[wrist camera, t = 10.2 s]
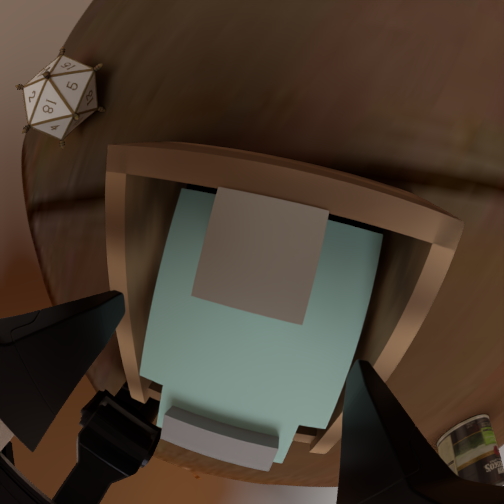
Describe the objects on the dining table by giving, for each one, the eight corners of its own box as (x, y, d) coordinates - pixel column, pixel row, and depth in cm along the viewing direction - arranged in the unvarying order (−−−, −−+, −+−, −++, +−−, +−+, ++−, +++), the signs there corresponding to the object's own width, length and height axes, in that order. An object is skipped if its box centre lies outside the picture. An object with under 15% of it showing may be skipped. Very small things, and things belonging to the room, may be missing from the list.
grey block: (296, 306, 17) (302, 325, 11) (222, 287, 17) (190, 295, 11) (314, 231, 17) (329, 210, 11) (240, 214, 17) (218, 186, 11)
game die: (116, 116, 23) (58, 184, 18) (62, 88, 20) (1, 147, 15) (139, 50, 16) (56, 113, 11) (74, 23, 13) (-11, 78, 8)
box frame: (328, 391, 26) (325, 453, 18) (166, 347, 28) (131, 397, 21) (412, 193, 17) (465, 222, 10) (175, 141, 19) (107, 144, 12)
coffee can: (472, 410, 23) (492, 485, 10) (496, 416, 23) (514, 477, 10) (424, 446, 28) (431, 516, 15) (454, 449, 27) (463, 508, 14)
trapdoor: (306, 459, 16) (308, 479, 14) (140, 410, 18) (125, 423, 15) (378, 236, 17) (392, 230, 15) (186, 192, 19) (173, 180, 17)
